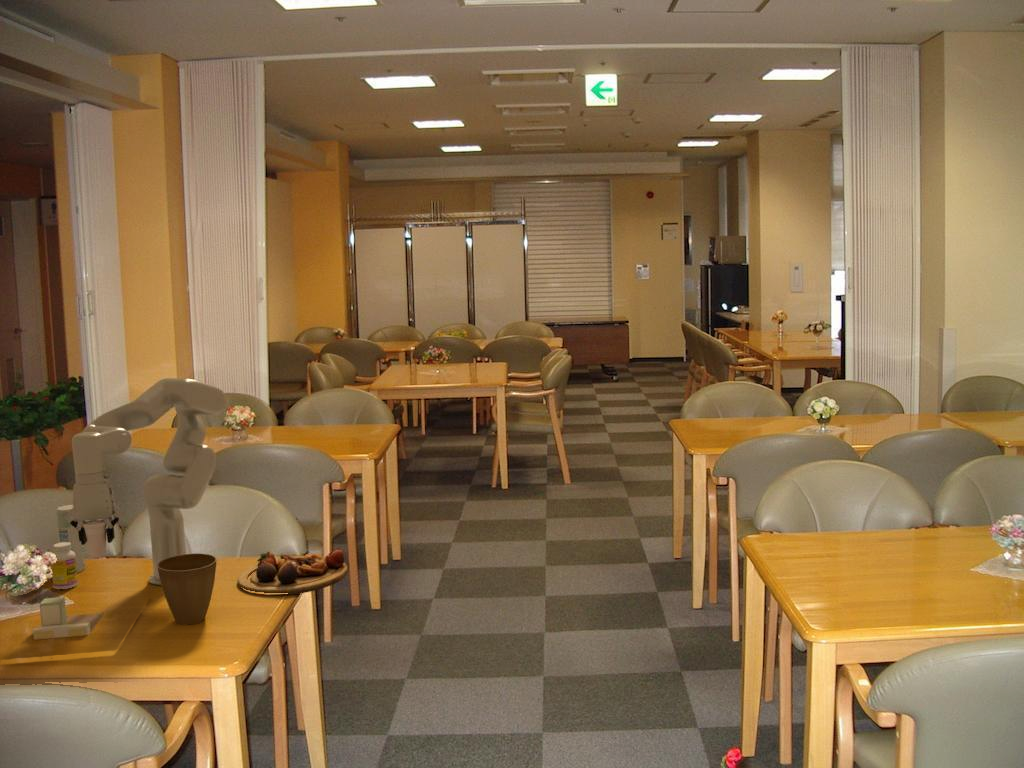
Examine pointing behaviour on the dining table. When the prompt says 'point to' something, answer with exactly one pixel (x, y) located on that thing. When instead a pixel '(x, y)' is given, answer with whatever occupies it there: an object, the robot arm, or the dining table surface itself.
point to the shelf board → (84, 619)
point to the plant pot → (188, 585)
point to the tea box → (53, 611)
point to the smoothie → (96, 537)
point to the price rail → (61, 631)
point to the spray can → (70, 536)
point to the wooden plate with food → (294, 573)
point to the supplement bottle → (64, 567)
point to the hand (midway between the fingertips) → (97, 541)
